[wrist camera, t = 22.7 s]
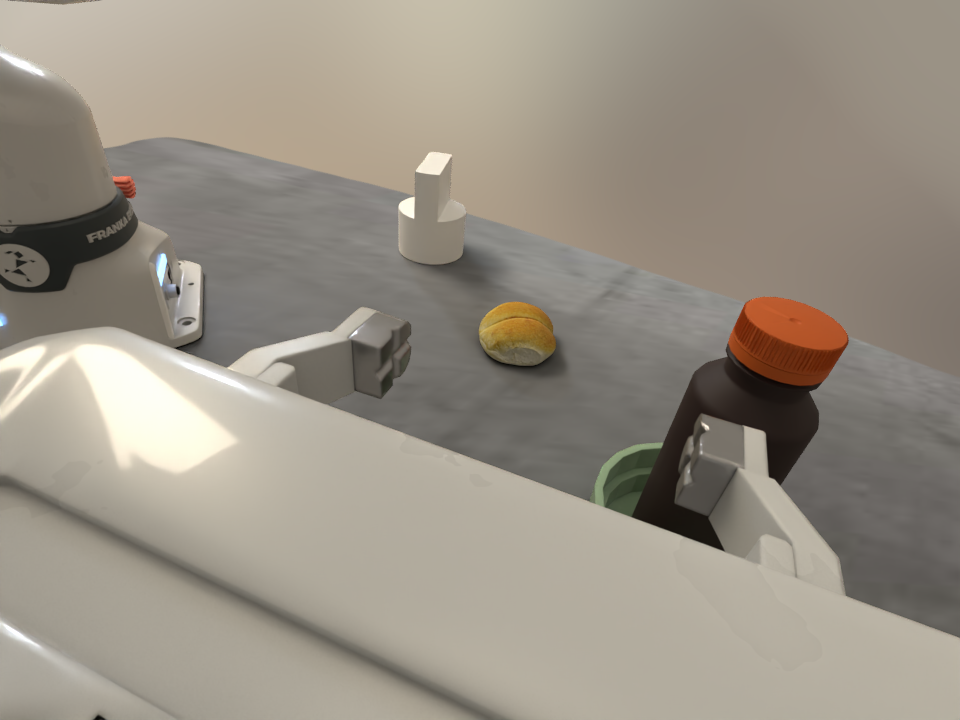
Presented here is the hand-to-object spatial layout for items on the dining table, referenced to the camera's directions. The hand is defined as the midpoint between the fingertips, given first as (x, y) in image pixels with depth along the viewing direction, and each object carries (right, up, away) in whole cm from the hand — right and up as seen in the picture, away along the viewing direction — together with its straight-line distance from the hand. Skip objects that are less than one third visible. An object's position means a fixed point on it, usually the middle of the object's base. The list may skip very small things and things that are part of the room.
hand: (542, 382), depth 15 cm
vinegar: (+12, -13, +24) cm, 30 cm away
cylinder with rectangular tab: (-9, +16, +60) cm, 63 cm away
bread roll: (+2, +2, +44) cm, 44 cm away
